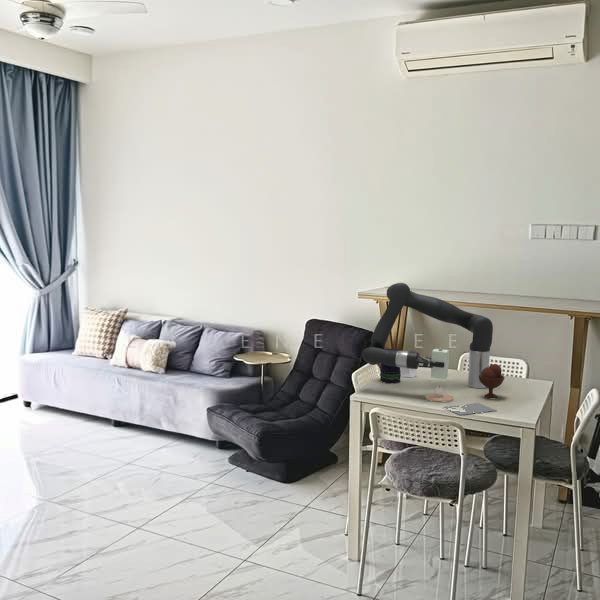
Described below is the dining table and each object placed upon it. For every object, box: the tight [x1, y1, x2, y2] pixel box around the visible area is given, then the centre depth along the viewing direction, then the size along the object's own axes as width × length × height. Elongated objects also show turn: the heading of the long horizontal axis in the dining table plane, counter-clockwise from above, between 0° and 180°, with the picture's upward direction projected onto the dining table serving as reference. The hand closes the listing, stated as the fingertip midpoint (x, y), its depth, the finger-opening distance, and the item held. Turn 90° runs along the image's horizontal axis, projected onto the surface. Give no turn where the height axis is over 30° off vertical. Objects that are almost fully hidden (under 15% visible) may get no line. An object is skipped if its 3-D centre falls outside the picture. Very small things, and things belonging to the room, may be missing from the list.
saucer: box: [424, 392, 454, 402], centre depth 295 cm, size 12×12×1 cm
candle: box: [434, 384, 444, 397], centre depth 295 cm, size 3×3×5 cm
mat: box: [443, 402, 497, 417], centre depth 279 cm, size 18×12×1 cm, turn 113°
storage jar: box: [379, 348, 402, 384], centre depth 325 cm, size 10×10×15 cm
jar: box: [400, 349, 417, 378], centre depth 337 cm, size 9×8×12 cm
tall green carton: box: [430, 347, 450, 380], centre depth 293 cm, size 6×6×13 cm
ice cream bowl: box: [479, 363, 505, 399], centre depth 298 cm, size 11×11×15 cm
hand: (445, 363), depth 293 cm, fingers closed on tall green carton, 6 cm apart
